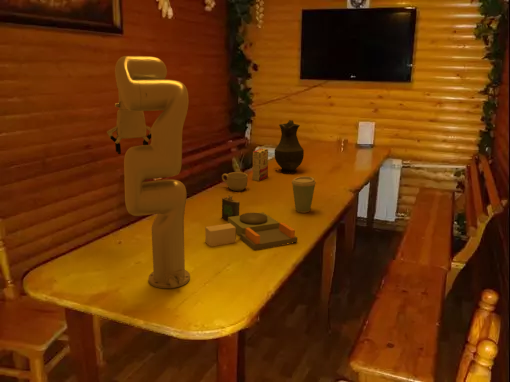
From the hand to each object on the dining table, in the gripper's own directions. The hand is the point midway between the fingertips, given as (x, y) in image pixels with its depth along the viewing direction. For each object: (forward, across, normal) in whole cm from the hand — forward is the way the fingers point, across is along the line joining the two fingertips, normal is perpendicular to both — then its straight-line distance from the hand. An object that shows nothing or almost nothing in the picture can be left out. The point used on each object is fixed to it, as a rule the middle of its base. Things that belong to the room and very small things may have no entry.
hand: (132, 152), depth 176 cm
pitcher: (+31, +107, +65) cm, 129 cm away
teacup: (+32, +60, +41) cm, 79 cm away
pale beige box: (+31, +26, -23) cm, 47 cm away
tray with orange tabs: (+31, +43, -22) cm, 58 cm away
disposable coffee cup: (+31, +74, -3) cm, 80 cm away
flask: (+32, +39, -2) cm, 50 cm away
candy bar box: (+32, +82, +55) cm, 104 cm away
